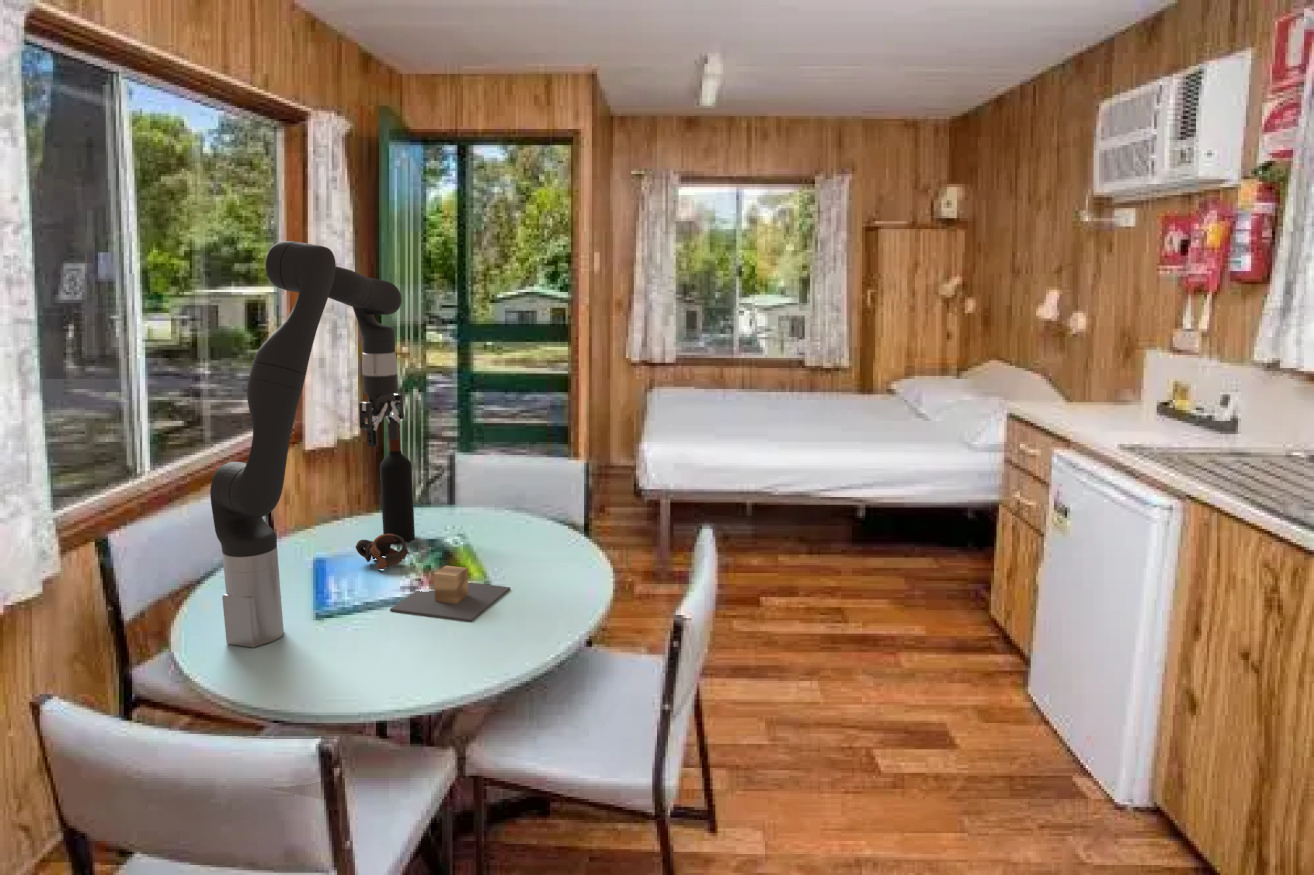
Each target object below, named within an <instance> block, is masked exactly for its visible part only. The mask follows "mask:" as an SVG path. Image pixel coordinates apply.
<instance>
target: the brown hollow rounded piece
mask: <svg viewBox="0 0 1314 875" xmlns="http://www.w3.org/2000/svg"><path fill="white" fill-rule="evenodd" d="M396 540H397V541H399V542H400V543H401V546H402V547H401V549H400V550H399V551H398V550H397V549H394V548H393V547H391V546H392V545H393V544H392V542H395V541H396ZM355 550H356V552H357V553H358V554H359V555H360V557H361V556H362V557H363V558H364V559H365V560H366V562H367V563H369V562H370V561H371V560H373V559H375V558H376V559H377V560H376V561H378V563H377V566H376V569H377V568H378V569H385V570H386V568H390V567H394V566H395V565H399V563H402V562H403V560H405V559H406V557H407V555H409V553H410V552H409V550H408V548H407V543H405V541H404V539H403V538H401V537H400V536H398V535H394V534H383V533H382V534H380V535H378V536H377V537H375V538H374V540H369V539H360V540H358V541H357V542H356V545H355ZM382 556H385V557H382Z"/></svg>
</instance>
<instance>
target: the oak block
mask: <svg viewBox="0 0 1314 875" xmlns="http://www.w3.org/2000/svg"><path fill="white" fill-rule="evenodd" d="M433 579H434V590H435V601H439V602H447V603H454V604H457V603H459V602H460V601H461V600H462V599H464V598H465V597H466V596H468V582H469V581H468V580H469V577H468V567H462V566H453V565H444V566H443V567H441V568H440V569H439V570H437V571H435V572H433Z"/></svg>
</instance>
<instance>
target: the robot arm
mask: <svg viewBox="0 0 1314 875" xmlns="http://www.w3.org/2000/svg"><path fill="white" fill-rule="evenodd" d="M264 266H265V267H264V268H265V273H266V276H267V278H268V279H269V281H270V282H271V283H272V285H274V286H275V287H276V288H279V289H281V290H282V291H283V290H284V291H289V292H293V293H298V294H297V298H296V301H295V304H294V305H293V308H292V310H291V312H290V314H289V316H288V317H287V318H286V320H285V321H284V322H283V323H282V324H281V325H280V326H279V327H278V328H277V329H276V330H275V331H274V332H273V333H272V334H271V335H270V336H269V337H268V338H267V339H266V340H265V341H264V342H263V343H262V345H260V347H259V348H258V349H257V351H256V353H255V355H254V357H253V362H252V365H251V367H250V368H251V369H250V373H249V377H248V379H247V380H248V381H247V386H246V401H247V405H248V410H249V416H250V420H251V426H252V440H251V441H252V442H251V446H250V450H249V453H248V454H249V455H248V458H247V461H246V462H242V461H230V462H228V463H227V462H226V463H225V464H223V465H221V466H220V467H219V468H217V470H216V471H215V473H214V474H213V477H212V479H211V482H210V489H209V491H210V492H209V493H210V494H209V495H210V496H209V497H210V505H211V512H212V518H213V519H212V520H213V525H214V531H215V535H216V538H217V539H218V541H219V543H220V546H221V552H222V562H223V563H222V564H223V574H224V583H225V584H224V585H225V593H224V594H223V595H222V596H221V600H222V608H223V618H224V621H223V622H224V629H225V631H224V632H225V641H226V644H227V645H234V646H241V647H246V648H254V649H255V648H257V647H258V646H262V645H266V644H269V643H272V642H274V641H276V640H278V639H279V638H281V637H282V636H283V635H284V633H285V629H284V616H283V606H282V605H283V604H282V592H281V581H280V580H281V578H280V568H279V566H280V565H279V555H278V554H279V552H278V542H277V540H278V538H277V535H276V532H275V530H274V529H273V528H272V527H271V526H270V525H269V524H268V523H267V522H266V521H265V520H264V518H263V517H265V516H267V515H269V514H271V513H272V511H274V509H275V508H276V507H277V505H278V504H279V501H280V499H281V496H282V494H283V493H282V492H283V488H284V483H285V475H286V468H287V460H288V453H289V447H290V441H291V437H292V432H293V428H294V424H295V419H296V413H297V411H298V410H297V409H298V407H299V406H298V405H299V401H300V398H301V395H302V392H303V388H304V385H305V379H306V376H307V372H308V366H309V362H310V357H311V353H312V350H313V345H314V342H315V338H316V336H317V331H318V329H319V328H318V327H319V326H320V322H321V319H322V316H323V313H324V310H325V307H326V305H327V302H328V299H330V300H333V301H336V302H339V303H342V304H344V305H346V306H350V307H351V308H352V309H353V312H354V315H355V318H356V321H357V325H358V327H359V332H360V335H361V344H362V345H361V347H362V348H361V349H362V351H361V352H362V359H361V367H362V368H361V370H362V386H363V389H362V390H363V393H364V394H366V395H367V396H368V400H367V401H359V405H358V408H359V409H358V410H359V412H358V414H359V428H360V429H361V430H365V431H366V441H367V443H366V444H367V446H368V447H370V448H371V447H373V448H376V447H378V446H379V438H378V437H379V436H378V427H379V424H380V423H381V422H382V420H383V418H386V419H387V431H388V432H389V437H388V440H389V439H394V440H396V439H398V438H399V432H398V431H399V430H398V423H401V422H400V421H401V420H404V418H405V413H404V412H405V410H404V400H403V394H402V393H398V392H399V382H398V381H399V380H398V379H399V378H398V376H399V375H398V362H397V355H396V341H395V339H396V338H395V337H396V336H395V330H394V329H393V327H392V326H389V325H386V324H383V323H380V322H378V321H377V319H376V317H375V315H380V316H381V315H384V316H387V315H393V314H395V313H396V312H398V310H400V307H401V305H402V293H401V291H400V290H399V289H398V287H397V286H396V284H394V283H392V282H390V281H388V280H387V281H386V280H382V279H377V278H371V277H367V276H365V275H363V274H361V273H359V272H357V271H355V270H352V269H349V268H345V267H341V266H336V259H335V255H334V253H333V251H332V250H331V249H330V248H328V247H327V246H325V245H318V244H313V243H305V242H299V241H293V240H291V241H289V240H284V241H279V242H276V243H275V244H273V245H272V246H271V247H270V248H269V250H268V251H267V255H266V258H265V265H264ZM365 419H366V420H365ZM388 422H390V423H388Z"/></svg>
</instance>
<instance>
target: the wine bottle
mask: <svg viewBox="0 0 1314 875" xmlns="http://www.w3.org/2000/svg"><path fill="white" fill-rule="evenodd" d="M388 423H390V422H388V421H387V424H388ZM400 423H401V422H399V423H398V430H399V431H398V432H399V438H398V439H396V440H394V439H389V432H388V435H387V436H388V455H387V456H386V457H384V458H383V459H382V461H380V464H379V473H380V475H379V479H380V496H381V514H382V518H381V519H382V532H383V533H382V535H383V534H394V535H398V536H400V537H401V538H403V539H404V541H405V543H406V542H408V543H410V542H413V541H414V540H415V537H416V536H415V535H416V534H415V531H416V530H415V514H414V512H415V509H414V491H413V490H414V489H413V488H414V486H413V470H412V469H413V467H412V462H411V461H410V460H409V458H408V457H407V456H405V455H404V454H403V453H402V448H401V447H402V446H401V430H400V429H401V424H400ZM400 544H401V543H400V542H399V541H397V540H396V541H395V542H392V544H391V545H400ZM406 544H407V543H406ZM401 545H402V544H401Z"/></svg>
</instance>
